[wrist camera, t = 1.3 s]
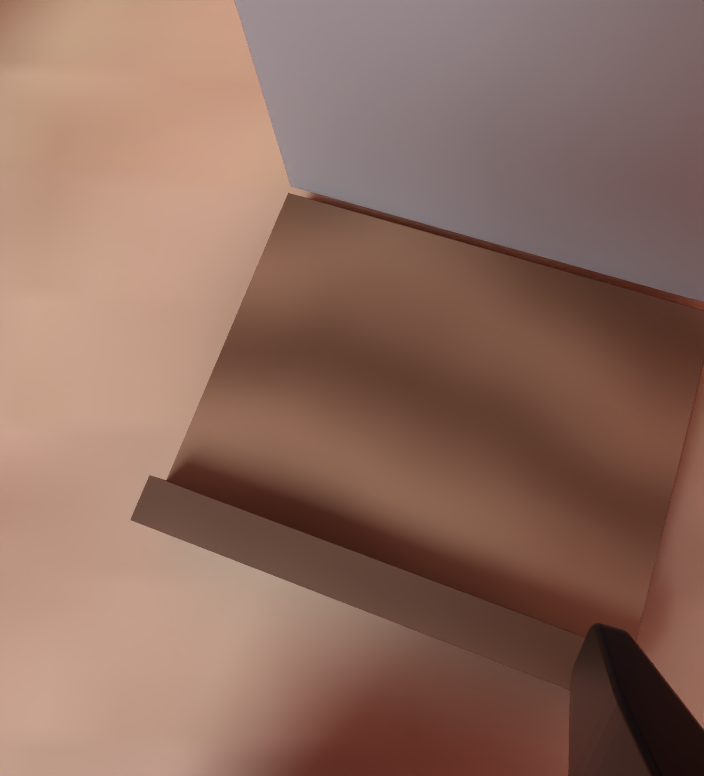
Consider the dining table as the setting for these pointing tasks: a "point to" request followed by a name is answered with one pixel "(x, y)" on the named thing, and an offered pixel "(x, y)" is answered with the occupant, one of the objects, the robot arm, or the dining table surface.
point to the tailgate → (501, 121)
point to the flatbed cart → (440, 436)
